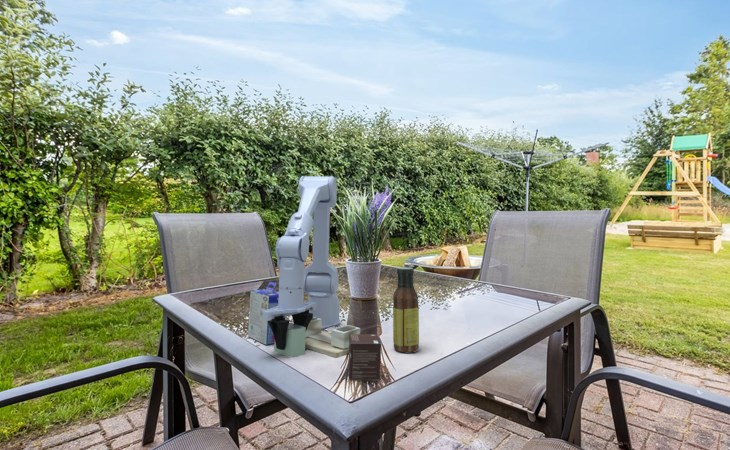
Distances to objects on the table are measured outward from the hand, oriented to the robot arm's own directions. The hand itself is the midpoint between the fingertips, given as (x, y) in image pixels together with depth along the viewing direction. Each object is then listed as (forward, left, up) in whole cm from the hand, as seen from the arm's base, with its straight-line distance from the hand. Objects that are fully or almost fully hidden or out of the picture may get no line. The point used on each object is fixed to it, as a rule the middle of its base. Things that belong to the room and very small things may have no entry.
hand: (289, 346), depth 88 cm
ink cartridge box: (-3, -12, -2) cm, 12 cm away
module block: (0, 0, -2) cm, 2 cm away
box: (-1, +21, -2) cm, 21 cm away
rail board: (-10, +2, -1) cm, 10 cm away
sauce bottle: (-20, +19, -2) cm, 28 cm away
